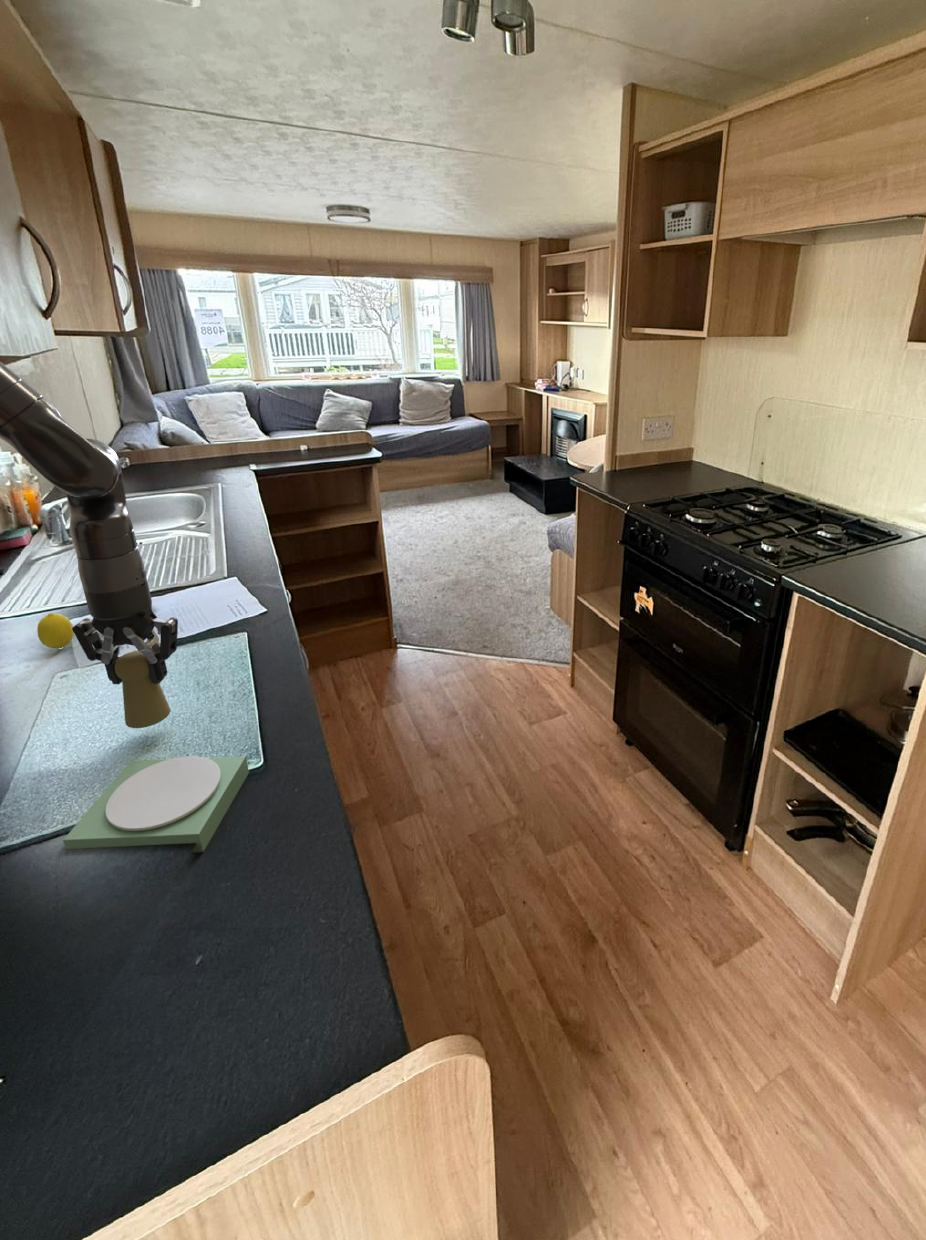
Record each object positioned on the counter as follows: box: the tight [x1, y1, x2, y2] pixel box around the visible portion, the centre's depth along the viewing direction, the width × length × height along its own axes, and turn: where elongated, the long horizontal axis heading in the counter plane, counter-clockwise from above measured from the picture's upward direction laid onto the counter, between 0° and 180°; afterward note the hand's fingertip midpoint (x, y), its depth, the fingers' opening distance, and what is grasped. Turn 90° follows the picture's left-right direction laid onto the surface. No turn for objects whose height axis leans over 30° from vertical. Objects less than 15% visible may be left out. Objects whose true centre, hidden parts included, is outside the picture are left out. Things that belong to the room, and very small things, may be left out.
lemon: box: [36, 612, 75, 649], centre depth 118 cm, size 6×6×8 cm
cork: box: [115, 649, 171, 729], centre depth 91 cm, size 6×6×11 cm
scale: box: [62, 755, 250, 854], centre depth 79 cm, size 16×14×4 cm
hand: (139, 680), depth 91 cm, fingers closed on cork, 5 cm apart
